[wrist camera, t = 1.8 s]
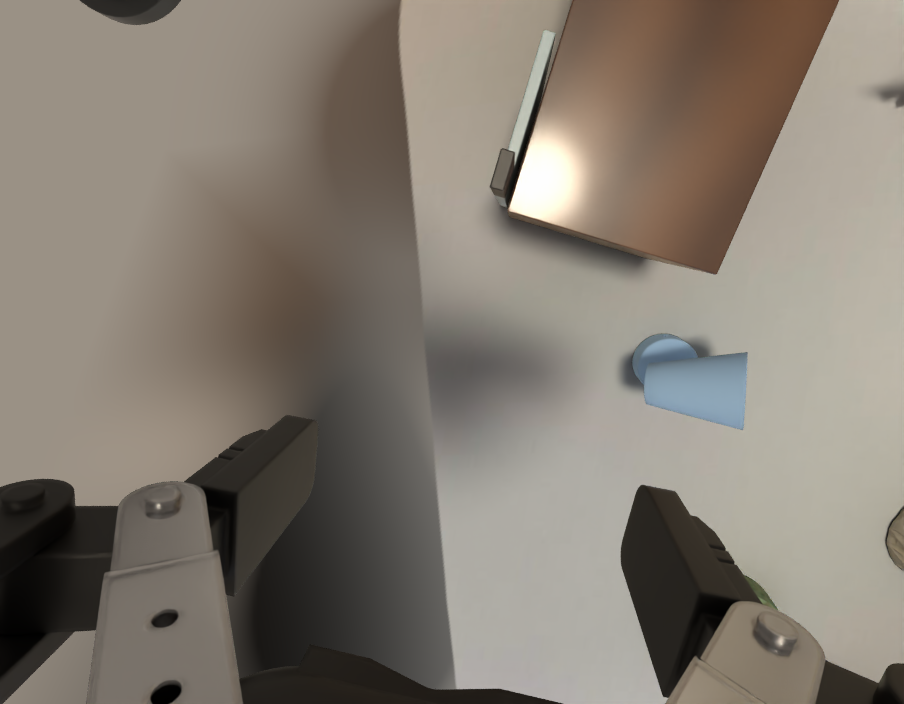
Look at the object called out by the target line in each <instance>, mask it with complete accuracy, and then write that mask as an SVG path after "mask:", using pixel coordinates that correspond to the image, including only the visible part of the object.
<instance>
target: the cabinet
mask: <svg viewBox="0 0 904 704" xmlns="http://www.w3.org/2000/svg"><path fill="white" fill-rule="evenodd" d="M838 2H839V0H573V1H572V4H571V7H570V10H569V14H568V17H567V20H566V23H565V26H564V30H563V33H562V36H561V39H560V42H559V46H558V49H557V52H556V55H555V59H554V62H553V65H552V68H551V71H550V75H549V78H548V81H547V84H546V87H545V91H544V94H543V97H542V100H541V104H540V107H539V110H538V113H537V116H536V120H535V123H534V126H533V129H532V132H531V136H530V139H529V142H528V145H527V149H526V152H525V155H524V158H523V161H522V165H521V168H520V171H519V174H518V177H517V181H516V184H515V187H514V190H513V194H512V197H511V200H510V203H509V206H508V210H507V211H508V214H509V217H511V218H514V219H518V220H521V221H524V222H528V223H531V224H534V225H537V226H541V227H544V228H547V229H551V230H554V231H557V232H560V233H564V234H567V235H570V236H574V237H577V238H580V239H584V240H587V241H590V242H593V243H597V244H600V245H603V246H607V247H610V248H613V249H617V250H620V251H623V252H626V253H630V254H633V255H636V256H640V257H643V258H646V259H650V260H655V261H659V262H663V263H668V264H672V265H676V266H681V267H685V268H689V269H693V270H698V271H702V272H706V273H711V274H717V272H718V270H719V268H720V266H721V263H722V261H723V259H724V257H725V255H726V252H727V250H728V248H729V246H730V243H731V241H732V239H733V237H734V234H735V232H736V230H737V228H738V225H739V223H740V221H741V219H742V216H743V214H744V212H745V210H746V208H747V205H748V203H749V201H750V199H751V196H752V194H753V192H754V190H755V187H756V185H757V183H758V181H759V178H760V176H761V174H762V172H763V169H764V167H765V165H766V163H767V161H768V158H769V156H770V154H771V152H772V149H773V147H774V145H775V143H776V140H777V138H778V136H779V134H780V131H781V129H782V127H783V125H784V122H785V120H786V118H787V116H788V114H789V111H790V109H791V107H792V105H793V102H794V100H795V98H796V96H797V93H798V91H799V89H800V87H801V84H802V82H803V80H804V78H805V76H806V73H807V71H808V69H809V67H810V64H811V62H812V60H813V58H814V55H815V53H816V51H817V49H818V46H819V44H820V42H821V40H822V37H823V35H824V33H825V31H826V29H827V26H828V24H829V22H830V20H831V17H832V15H833V13H834V11H835V8H836V6H837V4H838Z"/></svg>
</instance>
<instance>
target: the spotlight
mask: <svg viewBox="0 0 904 704" xmlns="http://www.w3.org/2000/svg"><path fill="white" fill-rule="evenodd" d="M747 354H748V353H747V352H745V353H736V354H727V355H718V356H709V357H700V358H698V357H697V354H696V352H695V350H694V349H693V348H692V347H691V346H690V345H689V344H688V343H686V342H685V341H683V340H682V339H680V338H679V337H677V336H674V335H671V334H657V335H653V336H651V337H649V338H647V339H645V340H644V341H643V342H642V343H641V344H640V345H639V346H638V347H637V349H636V350H635V352H634V355H633V360H632V366H633V370H634V373H635V375H636V376H637V378H638V379H639V380H640V381H641V382H642V384H643V385H644V396H645V402H646V404H648V405H651V406H655V407H659V408H662V409H666V410H670V411H674V412H677V413H681V414H685V415H688V416H692V417H696V418H700V419H703V420H707V421H711V422H714V423H718V424H722V425H726V426H729V427H733V428H737V429H740V430H743V427H744V413H745V397H746V378H747Z"/></svg>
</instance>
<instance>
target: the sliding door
mask: <svg viewBox="0 0 904 704" xmlns="http://www.w3.org/2000/svg"><path fill="white" fill-rule="evenodd" d="M555 35H556V34H555V32H551V31H548V30H544V31H543V34H542V37H541V41H540V44H539V47H538V51H537V54H536V57H535V61H534V64H533V67H532V71H531V74H530V77H529V81H528V84H527V87H526V91H525V94H524V97H523V101H522V104H521V107H520V111H519V114H518V117H517V121H516V124H515V127H514V131H513V134H512V137H511V140H510V144H509V147H508V150H507V149H503V148H502V149H501V151H500V154H499V158H498V161H497V164H496V168H495V171H494V174H493V178H492V181H491V185H490V188H491V190H492V191H493V193H494V195H495V197H496V198H497V200H498V202H499V204H500V205H501V206H504V207H508V204H509V201H510V197H511V194H512V191H513V188H514V185H515V181H516V178H517V175H518V172H519V169H520V165H521V162H522V159H523V156H524V152H525V149H526V146H527V143H528V140H529V136H530V133H531V130H532V127H533V123H534V120H535V117H536V114H537V111H538V107H539V104H540V101H541V97H542V93H543V88H544V84H545V79H546V75H547V71H548V66H549V62H550V57H551V53H552V48H553V44H554V39H555Z"/></svg>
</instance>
